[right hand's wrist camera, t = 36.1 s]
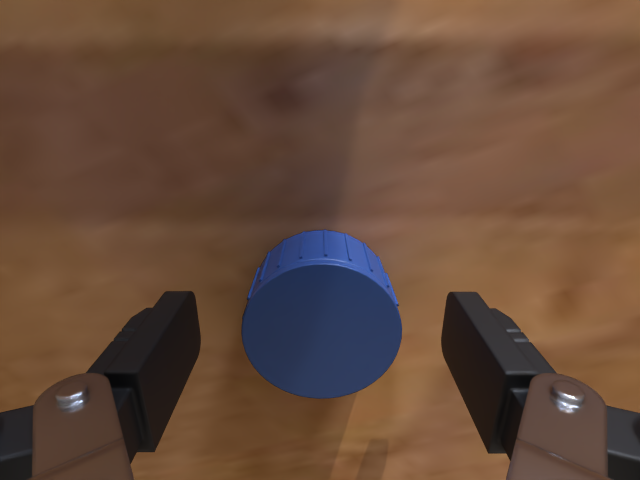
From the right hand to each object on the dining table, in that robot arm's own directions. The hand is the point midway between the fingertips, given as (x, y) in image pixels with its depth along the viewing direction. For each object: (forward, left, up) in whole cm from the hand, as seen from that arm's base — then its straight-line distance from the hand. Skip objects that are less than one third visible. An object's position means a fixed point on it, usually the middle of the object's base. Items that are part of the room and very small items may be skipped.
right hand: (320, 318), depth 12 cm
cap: (0, 0, +1) cm, 1 cm away
